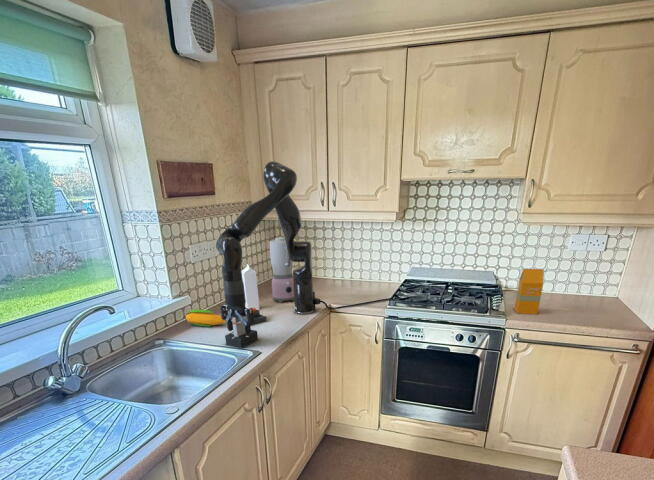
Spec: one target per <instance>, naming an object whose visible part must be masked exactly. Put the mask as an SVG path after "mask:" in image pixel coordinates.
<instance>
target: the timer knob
mask: <svg viewBox="0 0 654 480" xmlns="http://www.w3.org/2000/svg"><path fill="white" fill-rule="evenodd" d="M232 332H234V336H235V337H239V336H241V335H243V334H245V326H244V323H243V321H239V322H234V323H233V330H232Z"/></svg>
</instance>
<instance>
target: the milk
mask: <svg viewBox="0 0 654 480" xmlns="http://www.w3.org/2000/svg"><path fill="white" fill-rule="evenodd" d="M241 271H242V279H243V284H244V291H245V299H246V303H245V307H246V308H256V310H259V311H260V310H261V308H260V299H259V290H258V279H257V278H258V277H257V272H256V270H255V269H252V268H251V267H250V265H249V264H248V263H246V267H245V268H243V269H241Z"/></svg>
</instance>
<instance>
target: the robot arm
mask: <svg viewBox="0 0 654 480" xmlns="http://www.w3.org/2000/svg"><path fill="white" fill-rule="evenodd" d="M262 175H263V177H262V178H263V182H264V183H263V184H264V185H265V187H266V189H267V191H268V194H267V195H266V196H264V197H263V198H261V199H259V200H257V201H255V202H253V203H251V204H249V205H247V206H246V207H245V208H244V209H243V210H242V212H241V213H239V215H238V216H237V218H236V219H235V220H234V221H233V223H232V224H231V225H230V226H228V227H227V228H226V229H224V231H223V232H222V233H221V234H220V235H219V236H218V237H217V240H216V242H215V248H216V251H217V252H218V253H219V254H221V255H223V264H222V265H221V275H222V286H223V294H224V296H223V297H224V302H225V303H224V304H221V305H220V316H222V320H225V321H226V322H225V323H226V328H227V330H228V332H233V319H235V318H239V319H240V320H241V321H243V323H244V324H245V326H244V327H245V334H247V335H248V334H250V332H251V330H252V327H251V325H250V324H252V323H254V322H255V321H254V315H253V309H252V308H246V307H245V303H246V299H245V291H244V284H243V279H242V263H243V247H242V244H241V242H242V241H243V240H244V239H247V238H249V237H250V236H251V235H252V233H253V232H254V231H255V230H256V228H257V227H258V226H259V225H260V224H261V222H262V221H263V220H264V219H265V217H267V216H268V215H269V214H270V213H271V212H272V211H273V210H275V213H276V216H277V220H278V223H279V226H280V229H281V232H282V234H283V237H284V238H285V242H286V247H287V252H288V256H289V258H290V260H291V261H293V262H294V263H304V265H302V266H301V267H298V268H296V269H294V270H292V276H293V286H294V301H293V302H294V305H293V309H294V313H296V314H299V315H309V314H312V313H314V312H316V306H317V305H321V304H324V306H325V308H327V309H329V310H338V309H345V308H350V307H357V306H362V305H368V304H372V303H373V304H374V303H378V302H384V301H385V302H386V301H392V300H393V299H392V298H393V297H387V298H380V299H375V300H370V301H364V302H359V303H354V304H353V303H352V304H347V305H342V306H336V307H330V306H328V304H327V303H326V302H325V301H323V300H322V299H321V298H318V297H316V292H315V291H314V281H313V280H314V279H313V246H312V243H311V242H310V241H308V240H306V241H305V240H298V241H297V240H295V239H296V238H297V235H298V234H299V232H300V230H301V229H302V226H303V221H302V216H301V213H300V210H299V207H298V205H297V204H296V203H295V201H294V199H293V198H292V197H291V196H290V194H292V192H293V191H294V189H295V187H296V186H297V182H298V176H297V173H296V171H295V170H294V169H292V168H290V167H288V166H286V165H284V164H282V163H280V162H278V161H274V160H272V161H269V162H268V163H265V166H264V168H263V172H262ZM243 316H245V317H243ZM246 321H247V322H246Z"/></svg>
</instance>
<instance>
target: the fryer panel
mask: <svg viewBox="0 0 654 480" xmlns="http://www.w3.org/2000/svg"><path fill="white" fill-rule="evenodd" d="M224 339H225V345H226V346H230V347H234V348H238V349H243V348H246V347H247V346H249V345H251V344H253V343H255V342H256V341H258V340H259V336H258V330H256V329H251V332H250V334H248V335H247V334H243V335H241V336H239V337H235V336H234V331H231V332H229V333H227V334H225V335H224Z"/></svg>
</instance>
